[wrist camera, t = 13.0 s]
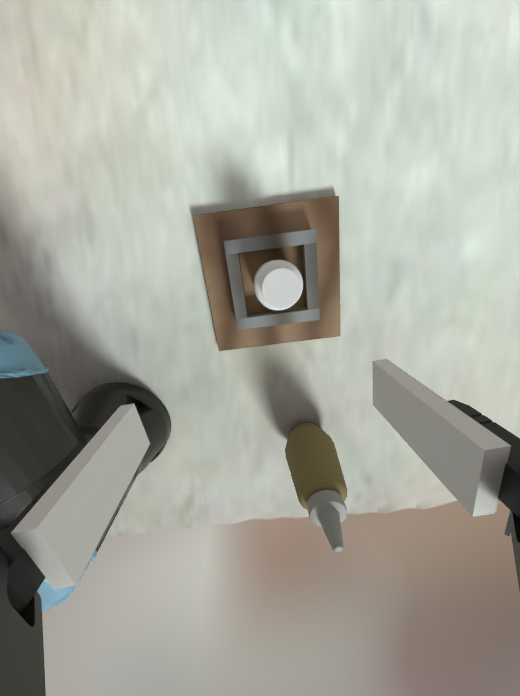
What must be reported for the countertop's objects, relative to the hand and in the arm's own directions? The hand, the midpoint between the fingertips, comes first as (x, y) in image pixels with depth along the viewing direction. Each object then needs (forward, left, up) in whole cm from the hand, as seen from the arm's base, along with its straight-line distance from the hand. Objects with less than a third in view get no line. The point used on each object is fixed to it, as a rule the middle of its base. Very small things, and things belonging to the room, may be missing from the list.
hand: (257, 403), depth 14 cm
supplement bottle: (+3, +4, -23) cm, 23 cm away
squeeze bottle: (+6, -23, -24) cm, 33 cm away
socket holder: (+3, +4, -24) cm, 24 cm away
